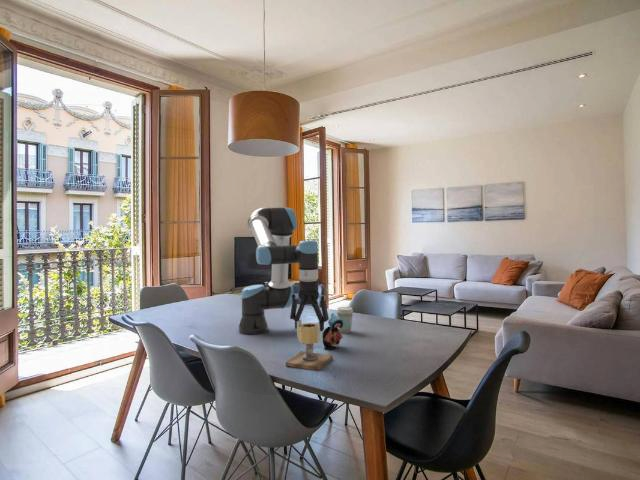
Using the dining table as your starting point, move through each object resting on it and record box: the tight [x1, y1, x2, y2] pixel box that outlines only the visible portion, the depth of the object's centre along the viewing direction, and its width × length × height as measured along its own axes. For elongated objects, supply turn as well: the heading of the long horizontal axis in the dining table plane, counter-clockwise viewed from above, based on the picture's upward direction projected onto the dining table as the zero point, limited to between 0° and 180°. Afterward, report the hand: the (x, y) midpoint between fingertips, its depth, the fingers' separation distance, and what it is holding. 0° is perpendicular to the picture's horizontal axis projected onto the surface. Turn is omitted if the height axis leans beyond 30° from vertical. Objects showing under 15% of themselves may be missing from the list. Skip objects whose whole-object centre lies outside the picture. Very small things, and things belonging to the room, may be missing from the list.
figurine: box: [322, 313, 343, 351], centre depth 164 cm, size 10×7×15 cm
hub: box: [297, 322, 322, 345], centre depth 146 cm, size 8×8×6 cm
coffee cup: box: [336, 306, 354, 334], centre depth 190 cm, size 8×8×12 cm
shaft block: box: [285, 344, 333, 372], centre depth 146 cm, size 14×14×10 cm
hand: (309, 337), depth 146 cm, fingers closed on hub, 8 cm apart
